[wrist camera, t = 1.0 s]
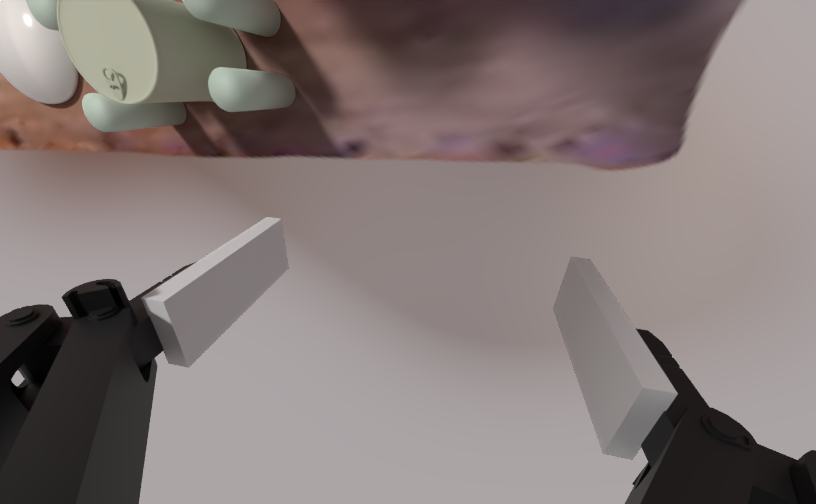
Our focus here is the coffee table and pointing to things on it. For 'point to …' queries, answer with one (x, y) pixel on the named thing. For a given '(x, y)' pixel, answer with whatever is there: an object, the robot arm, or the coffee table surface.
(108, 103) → the posts
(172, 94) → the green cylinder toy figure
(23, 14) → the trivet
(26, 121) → the coffee table surface
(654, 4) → the coffee table surface
